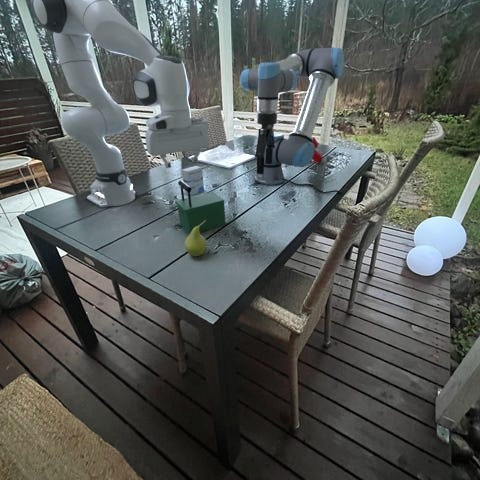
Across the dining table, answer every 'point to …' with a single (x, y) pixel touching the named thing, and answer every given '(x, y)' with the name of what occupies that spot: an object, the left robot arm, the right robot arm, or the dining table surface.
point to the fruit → (196, 242)
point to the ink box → (193, 179)
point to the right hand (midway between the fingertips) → (264, 168)
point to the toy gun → (316, 155)
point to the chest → (202, 218)
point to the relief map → (224, 157)
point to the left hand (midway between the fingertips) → (182, 164)
